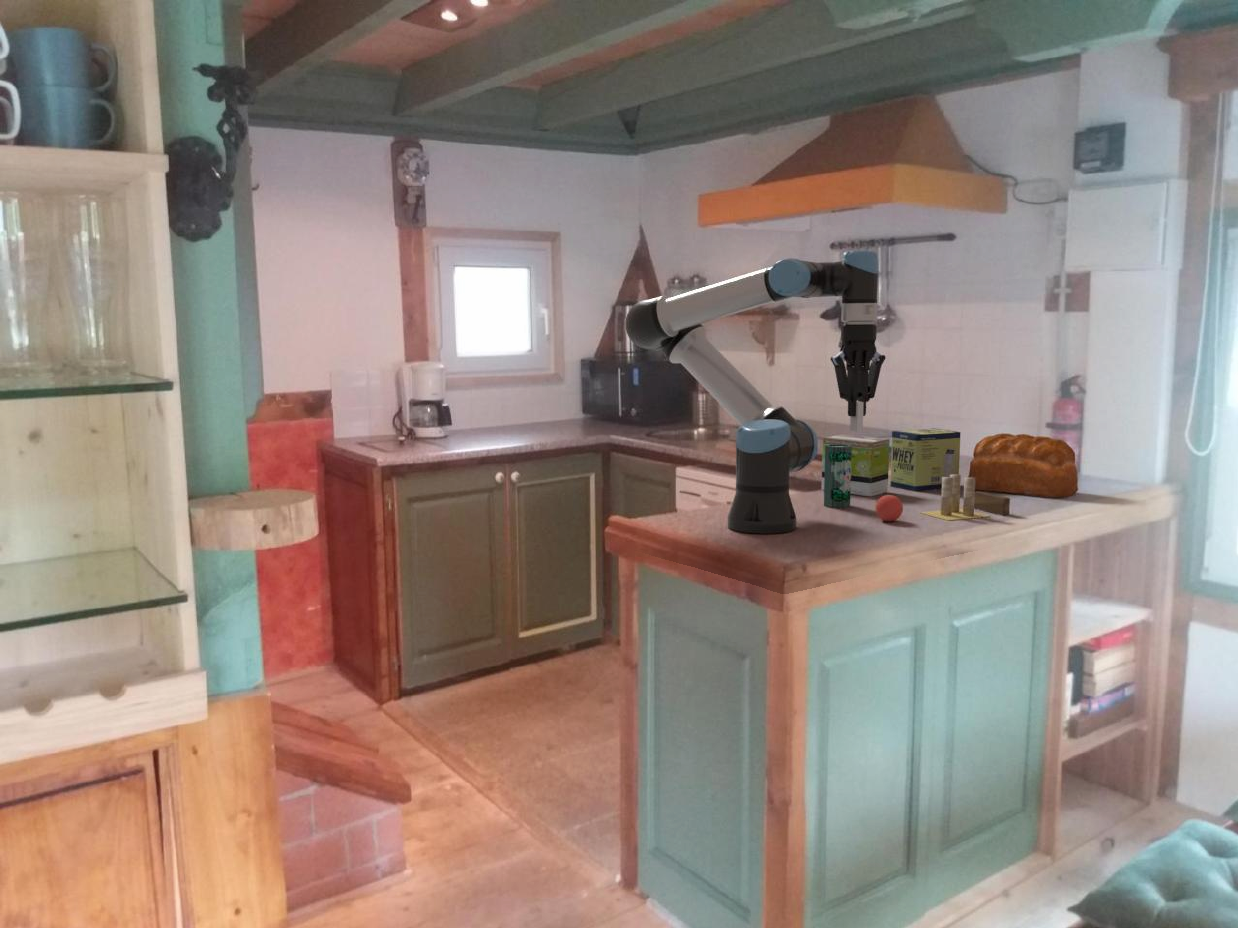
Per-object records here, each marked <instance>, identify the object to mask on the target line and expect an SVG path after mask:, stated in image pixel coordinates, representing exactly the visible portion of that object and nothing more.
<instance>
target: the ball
mask: <svg viewBox="0 0 1238 928" xmlns="http://www.w3.org/2000/svg"><path fill="white" fill-rule="evenodd" d="M903 510H904V506H903V502H902V501H901V500H900V498H898V496H895V495H894V494H886V495H883V496H881V497H879V499H878V500H877V501H876V504H875V513H876V515H877V516H878V517H879V518H880V519H881V520H882V521H885V522H894V521H896V520H898V519H900V517H901V516H902V513H903Z"/></svg>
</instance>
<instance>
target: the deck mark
mask: <svg viewBox="0 0 1238 928" xmlns="http://www.w3.org/2000/svg"><path fill="white" fill-rule="evenodd" d="M919 513H920V514H922V515H925V516H930V517H933V518H937V519H940V520H944V521H947V522H948V521H950V522H951V521H959V520H960V521H961V520H972V519H981V517H983V518H989V517H991V515H988V514H984V513H981V512H976V511H974V516H963V508H959V512H958V513H953V512H952V515H951V516H943V515H941V509H940V510H932V511H929V510H928V511H920V512H919ZM971 518H972V519H971Z"/></svg>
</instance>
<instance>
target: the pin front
mask: <svg viewBox="0 0 1238 928" xmlns="http://www.w3.org/2000/svg"><path fill="white" fill-rule="evenodd" d="M952 491H953V478H952V477H942V489H941V499H940V500H941V501H940V510H941V515H943V516H951V515H952Z"/></svg>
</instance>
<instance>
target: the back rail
mask: <svg viewBox="0 0 1238 928" xmlns="http://www.w3.org/2000/svg"><path fill="white" fill-rule="evenodd" d="M1010 504H1011V498H1010V497H1006V496H1002V495H998V494H993V493H988V492H984V491H975V500H974V508H975V509H974V510H977V509H979V510H978V511H981V510H983V511H982V512H986V511H987V512H986V513H990V512H991V513H990V514H994V513H995V515H998V514H999V516H1002V515H1004V516H1010V507H1011V506H1010Z"/></svg>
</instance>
